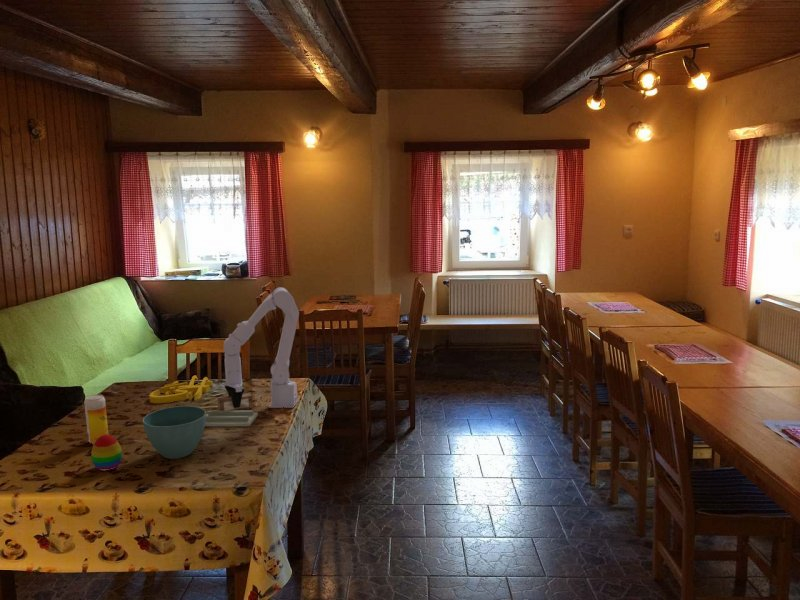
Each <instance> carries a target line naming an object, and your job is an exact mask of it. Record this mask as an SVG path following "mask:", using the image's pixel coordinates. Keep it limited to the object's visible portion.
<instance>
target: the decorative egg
mask: <svg viewBox="0 0 800 600" xmlns="http://www.w3.org/2000/svg"><path fill="white" fill-rule="evenodd" d="M92 445H93V446H92V447H91V455H90V456H91V462H92V464H93V466H94V468H95V469H97V470H98V469H111V468H114V467H116V468H118V467H119V465H120V463H121V462H122V459H123V458H122V457H123V451H122V447H121V445H120V443H119V441H118V440H117V439H116V437H114V436H113V435H111V434H108V435H107V434H105V435H102V436H100V437H99V438H98V439H97V440H96V442H95V443H94V444H92ZM117 466H118V467H117Z"/></svg>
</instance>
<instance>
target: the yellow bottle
mask: <svg viewBox="0 0 800 600" xmlns="http://www.w3.org/2000/svg"><path fill="white" fill-rule="evenodd" d="M83 403H84V412H85V413H84V414H85V422H86V424H85V425H86V432H87V439H88V440H87V441H88V442H89V443H90V444H91V443H92V444H91V445H94V443H95V442H96V440H97V439H98V438H99V437H100V436H102V435H105V434H107V435H109V424H108V416H107V405H106V398H105V397H104V395H103V394H94V395H93V394H92V395H88V396H86V397H85V399H84V402H83Z"/></svg>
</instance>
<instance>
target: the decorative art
mask: <svg viewBox="0 0 800 600" xmlns="http://www.w3.org/2000/svg"><path fill="white" fill-rule="evenodd" d="M191 380H192V381H191ZM195 380H198V381H199V379H198V377H197V374H196V375H193V376H191V379H190V382H189V383H188V381H186V382H181V383H179V380H178V381H173V382H172V383H169V384H163V385H164V386H161V387H160V388H159V389H156V390H154V391H152V392H150V393H149V395H148V396H149V403H151V404H168V403H173V402H174V401H175V402H179V401H184V400H187V399H188V400H189V401H190V400H192V399H193V398H194V401H195V400H196V401H198V400H199V399H201V397H202V395H203V394H207V393H209V392H210V391H211V387H210V386H211V385H213V386H214V383H213V381H214V380H209V378H208V377H207V376H205V377H203V379H202V380H201V382H198V384H195V385H194V382H195ZM203 380H206V381H203ZM208 391H209V392H208ZM165 392H166V393H165ZM206 392H207V393H206ZM161 393H163V394H164V395H161ZM174 393H175V394H174ZM193 393H194V394H193ZM158 395H159V396H158ZM197 399H198V400H197Z"/></svg>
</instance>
